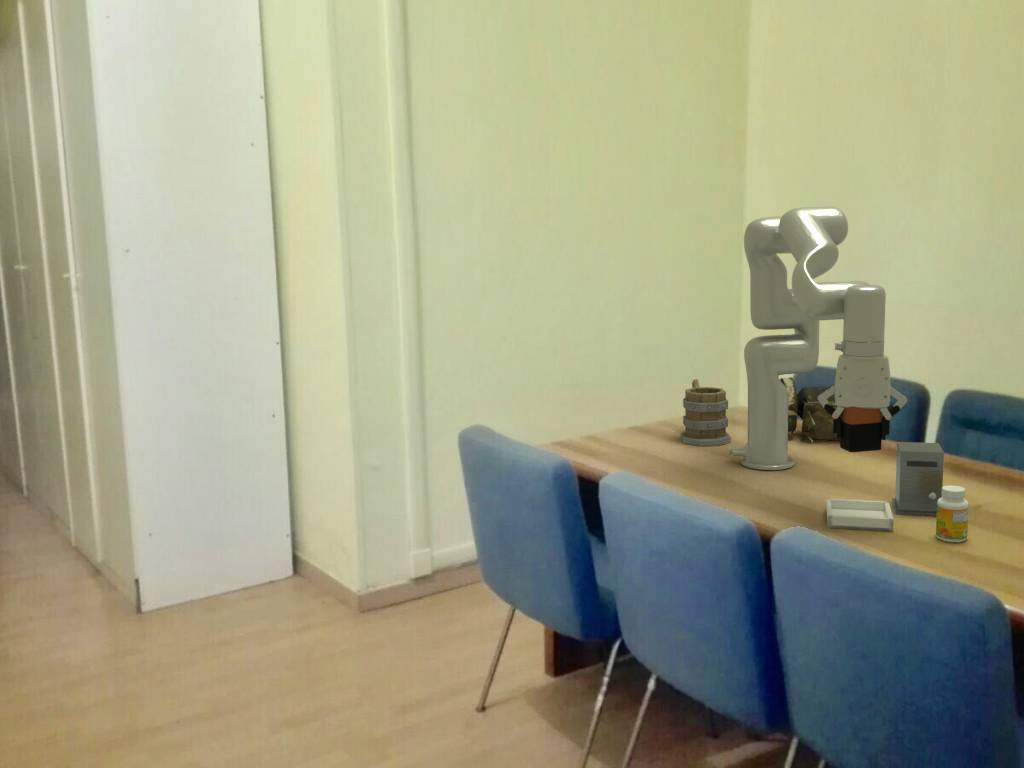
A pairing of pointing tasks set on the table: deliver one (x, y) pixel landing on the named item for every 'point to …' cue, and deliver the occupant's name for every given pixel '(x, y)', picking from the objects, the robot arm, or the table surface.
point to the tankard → (705, 416)
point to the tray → (859, 515)
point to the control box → (918, 478)
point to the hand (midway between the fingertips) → (860, 437)
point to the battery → (861, 429)
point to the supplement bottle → (952, 515)
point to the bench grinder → (809, 412)
